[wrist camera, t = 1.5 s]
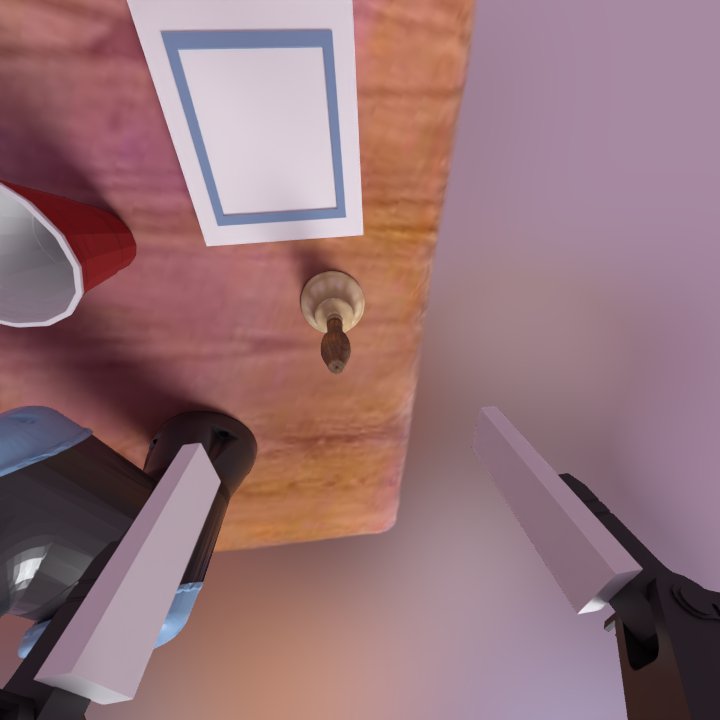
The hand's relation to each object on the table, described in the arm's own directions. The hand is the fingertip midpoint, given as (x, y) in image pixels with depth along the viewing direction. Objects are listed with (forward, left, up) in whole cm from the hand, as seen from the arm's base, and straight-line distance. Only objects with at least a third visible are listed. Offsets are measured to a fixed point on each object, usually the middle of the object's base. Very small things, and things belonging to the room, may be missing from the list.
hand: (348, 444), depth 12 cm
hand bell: (0, 0, -24) cm, 24 cm away
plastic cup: (-23, +9, -24) cm, 35 cm away
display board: (-4, +16, -24) cm, 29 cm away
